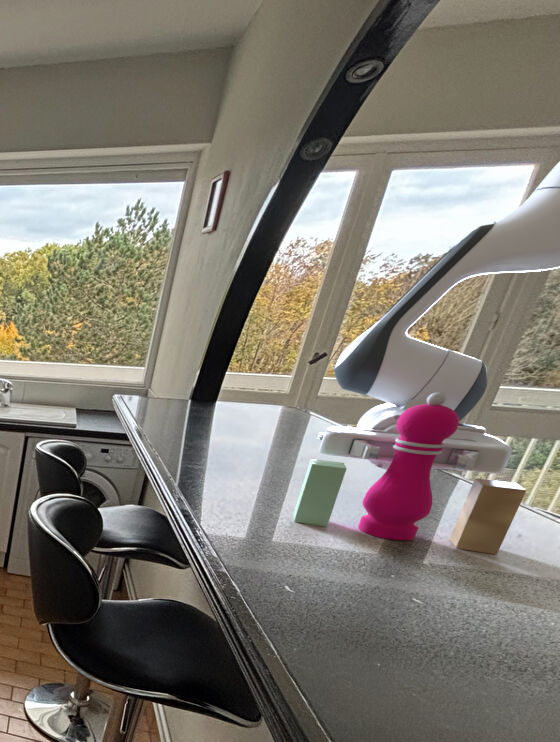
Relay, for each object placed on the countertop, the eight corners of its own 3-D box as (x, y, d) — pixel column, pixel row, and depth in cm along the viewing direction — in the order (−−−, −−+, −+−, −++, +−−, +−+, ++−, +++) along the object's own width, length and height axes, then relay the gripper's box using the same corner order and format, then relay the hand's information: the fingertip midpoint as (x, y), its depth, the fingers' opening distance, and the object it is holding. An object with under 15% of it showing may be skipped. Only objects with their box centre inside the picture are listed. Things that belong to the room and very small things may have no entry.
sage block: (324, 519, 91) (344, 462, 87) (326, 527, 88) (346, 468, 84) (293, 514, 93) (310, 458, 89) (293, 521, 90) (312, 464, 86)
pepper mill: (394, 544, 81) (452, 397, 74) (341, 526, 88) (388, 389, 80) (431, 539, 83) (491, 395, 76) (376, 522, 90) (426, 388, 82)
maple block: (488, 545, 81) (516, 482, 78) (496, 554, 78) (526, 490, 75) (448, 539, 83) (474, 478, 80) (455, 548, 80) (483, 484, 77)
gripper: (322, 413, 95) (328, 427, 85) (499, 428, 85) (532, 445, 74) (310, 451, 98) (315, 469, 87) (481, 470, 87) (510, 493, 76)
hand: (416, 458), depth 80 cm, fingers open, 8 cm apart
